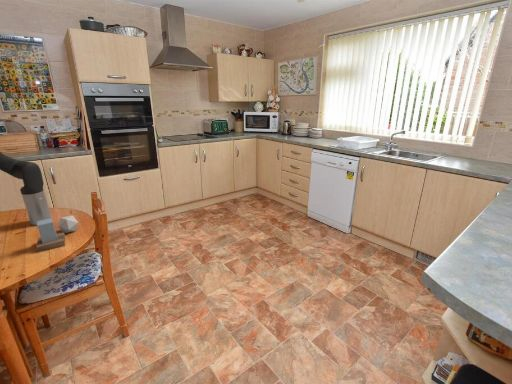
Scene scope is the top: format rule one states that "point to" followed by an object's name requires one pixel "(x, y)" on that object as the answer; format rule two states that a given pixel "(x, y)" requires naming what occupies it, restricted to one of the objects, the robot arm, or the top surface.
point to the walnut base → (51, 243)
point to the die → (68, 224)
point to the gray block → (47, 230)
